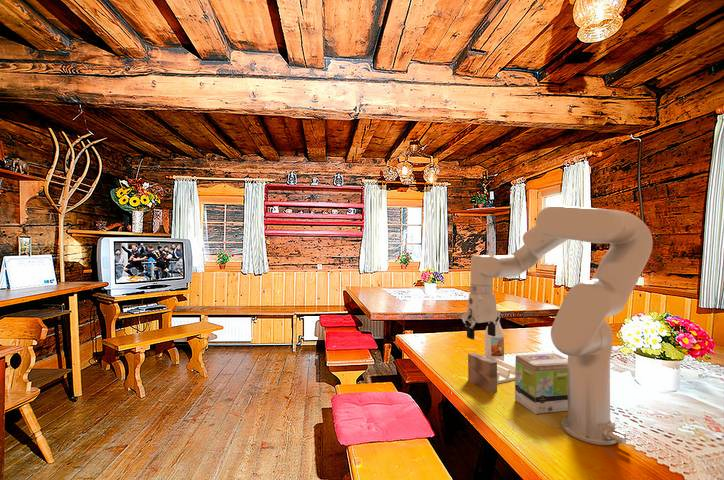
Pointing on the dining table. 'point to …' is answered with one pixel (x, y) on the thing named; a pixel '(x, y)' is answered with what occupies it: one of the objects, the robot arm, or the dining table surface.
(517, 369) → the tea box
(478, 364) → the walnut board
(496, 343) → the milk bottle
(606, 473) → the dining table surface
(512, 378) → the rack
